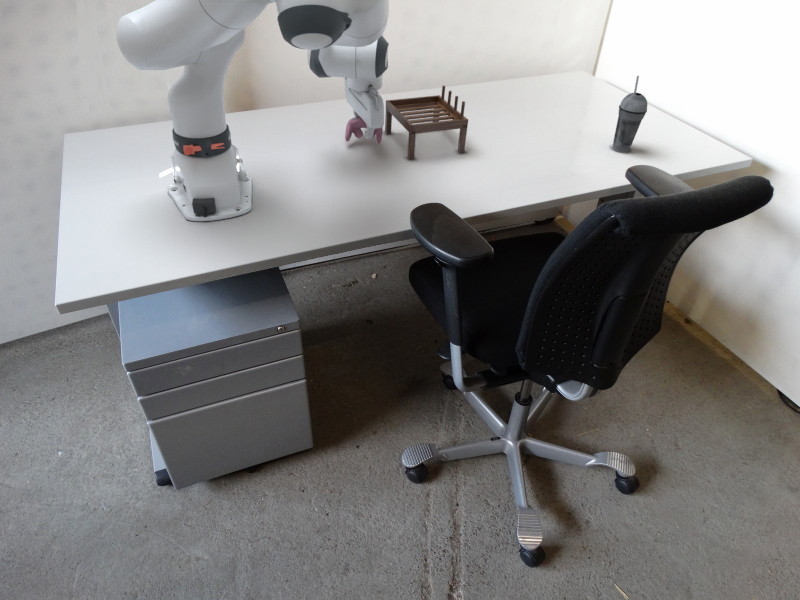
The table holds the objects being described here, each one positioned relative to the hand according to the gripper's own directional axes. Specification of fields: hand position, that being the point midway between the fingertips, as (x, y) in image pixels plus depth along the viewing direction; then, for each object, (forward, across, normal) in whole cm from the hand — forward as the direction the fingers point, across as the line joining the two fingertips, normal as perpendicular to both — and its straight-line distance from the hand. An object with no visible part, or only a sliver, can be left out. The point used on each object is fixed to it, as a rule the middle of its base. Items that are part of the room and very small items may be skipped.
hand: (363, 131), depth 155 cm
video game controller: (+2, 0, 0) cm, 2 cm away
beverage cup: (+3, -23, -68) cm, 72 cm away
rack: (+4, -3, -16) cm, 17 cm away
